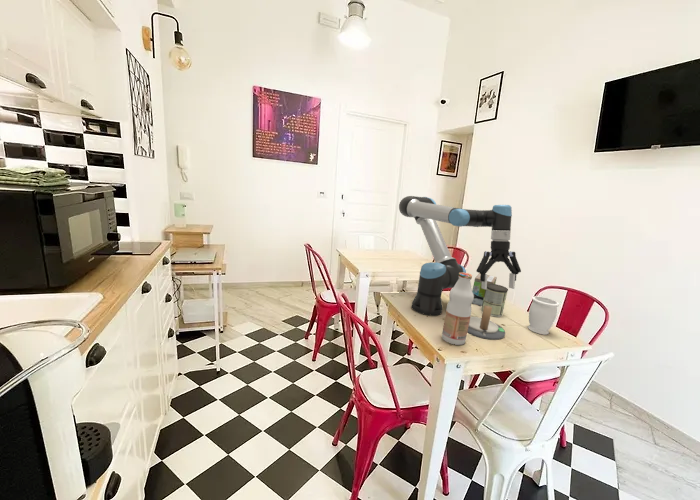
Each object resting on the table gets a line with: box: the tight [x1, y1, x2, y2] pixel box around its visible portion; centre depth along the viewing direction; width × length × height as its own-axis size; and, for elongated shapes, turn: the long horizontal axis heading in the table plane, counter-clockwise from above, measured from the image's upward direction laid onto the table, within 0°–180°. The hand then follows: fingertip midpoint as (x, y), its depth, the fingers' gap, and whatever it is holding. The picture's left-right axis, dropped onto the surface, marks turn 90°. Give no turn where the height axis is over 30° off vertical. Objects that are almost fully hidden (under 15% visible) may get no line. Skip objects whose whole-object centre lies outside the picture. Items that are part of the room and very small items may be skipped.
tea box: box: [472, 273, 497, 307], centre depth 173 cm, size 15×10×15 cm
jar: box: [527, 295, 560, 336], centre depth 141 cm, size 11×10×15 cm
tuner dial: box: [469, 305, 499, 333], centre depth 136 cm, size 16×14×11 cm
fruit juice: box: [441, 272, 474, 346], centre depth 122 cm, size 9×9×28 cm
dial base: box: [467, 322, 506, 341], centre depth 138 cm, size 20×20×1 cm
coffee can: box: [480, 283, 509, 318], centre depth 158 cm, size 10×10×14 cm
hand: (497, 288), depth 136 cm, fingers open, 13 cm apart
